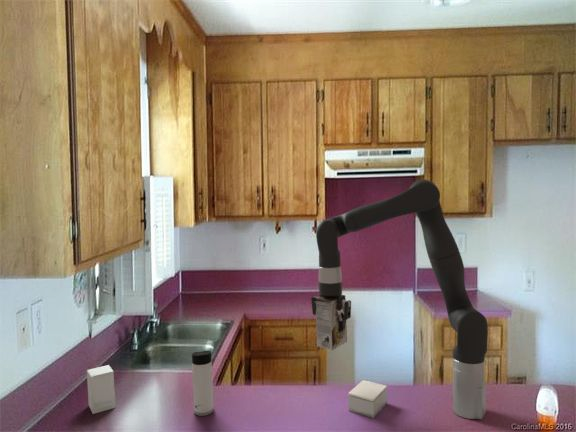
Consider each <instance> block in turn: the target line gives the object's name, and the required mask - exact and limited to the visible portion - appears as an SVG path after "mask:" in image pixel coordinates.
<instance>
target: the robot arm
mask: <svg viewBox="0 0 576 432" xmlns="http://www.w3.org/2000/svg"><path fill="white" fill-rule="evenodd" d="M440 199H441V191H440V190H439V188H438V186H437V185H436V183H434V182H433V181H431V180H428V179H418V180H416V181H414V182H413V183H412V184H411V185H410V187H409V188H408V189H407V190H404V191H402V192H401V193H399V194H397V195H394V196H392V197H389V198H386V199H383V200H380V201H375V202H372V203H368V204H364V205H361V206H359V207H356V208H354V209H351V210H349V211H346V212H345V213H342V214H339V215H335V216H333V217H329V218H326V219H324V220H322V221H320V222H319V223H318V224H317V226H316V230H315V234H316V235H315V237H316V243H317V248H318V249H317V250H318V294H319V296H318V295H315V296H313V297H310V298H311V310H312V311H311V312H312V315H313V316H316V300H315V299H316V298H319V297H330V298H335V299H337V302H338V307H339V306H341V305H342V304H343V307H344V313H343V309H341V310H340V311H338V310H337V315H338V319H339V320H340V321H339V332H343V331H344V330H345V320H346V321H348V320H349V319H351V317H352V316H351V315H352V301H351V300H350V299H349V300H343V298H342V295H343V281H342V280H343V276H342V275H343V273H342V268H341V267H342V266H341V251H340V250H339V243H338V242H339V241H338V240H339V239H338V238H340V237H343V236H344V235H347V234H350V233H356V232H359V231H362V230H365V229H367V228H371V227H373V226H376V225H379V224H381V223H384V222H386V221H389V220H391V219H394V218H399V217H402V216H405V215H410V214H416V216H417V218H418V221H419V223H420V226H421V230H422V234H423V235H422V236H423V240H424V245H425V249H426V252H427V256H428V259H429V263H430V266H431V268H432V271H433V273H434V276H435V279H436V281H437V284H438V286H439V289H440V291H441V293H442V296H443V299H444V300H443V301H444V303H445V308H446V312H447V317H448V321H449V324H450V326H451V328H452V329H453V330H454V331H455V332H456V345H455V346H454V347H453V348H452V411H453V413H454V414H456V415H457V416H459V417H461V418H464V419H470V420H480V421H481V420H483V419H484V417H485V416H486V415H485V414H486V412H487V382H486V381H485V356H486V354H487V351H488V340H489V339H488V338H489V326H488V325H489V324H488V321H487V318H486V317H485V315H484V314H482V313H481V312H480V311H479V310H477V309H475V307H474V306H473V304H472V302H471V300H470V297H469V296H468V293H467V289H466V286H465V285H466V284H465V265H464V262H463V258H462V255H461V252H460V249H459V246H458V244H457V242H456V240H455V238H454V237H455V236H453V234H452V231H451V229H450V228H449V225H448V224H447V222H446V220H445V217H444V213H443V209H442V206H441V201H440ZM340 313H341V314H340Z"/></svg>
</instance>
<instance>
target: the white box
mask: <svg viewBox="0 0 576 432" xmlns="http://www.w3.org/2000/svg"><path fill="white" fill-rule="evenodd" d="M347 397H348V398H347V399H348V411H349V412H350V413H351V412H352V413H355V414H359V415H361V416H365V417H368V418H371V419H374V418H375V417H376V416H377V415H378V414H379V413H380V411H382V410H383V409H384V407H386V406H387V404H388V389H387V388H386V389H385V390H384V391H383V392H382V393H381V394H380V395H379V396H378V397H377V398H376V399H375V400H374V401H369V400H366V399H362V398H358V397H355V396H351V395H348V396H347Z"/></svg>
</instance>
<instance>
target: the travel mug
mask: <svg viewBox="0 0 576 432" xmlns="http://www.w3.org/2000/svg"><path fill="white" fill-rule="evenodd" d="M212 362H213V361H212V352H211V351H210V350H203V351H195V352H193V353H191V366H192V390H193V391H192V392H193V394H192V395H193V413H194V415H196V416H199V417H203V416H205V417H206V416H208V415H211V414H212V413H213V412H214V387H213V386H214V385H213V382H214V381H213V363H212Z"/></svg>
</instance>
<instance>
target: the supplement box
mask: <svg viewBox="0 0 576 432" xmlns="http://www.w3.org/2000/svg"><path fill="white" fill-rule="evenodd" d="M114 372H115V371H114V369H112V367H111V366H110V364H107V365H103V366H98V367H94V368H90V369H86V379H87V380H86V381H87V397H88V399H87V400H88V407H89V409H90V411H91V413H92V415H94V414H99V413H102V412H105V411H108V410H112V409H115V408H116V394H115V389H116V388H115V373H114Z"/></svg>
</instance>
